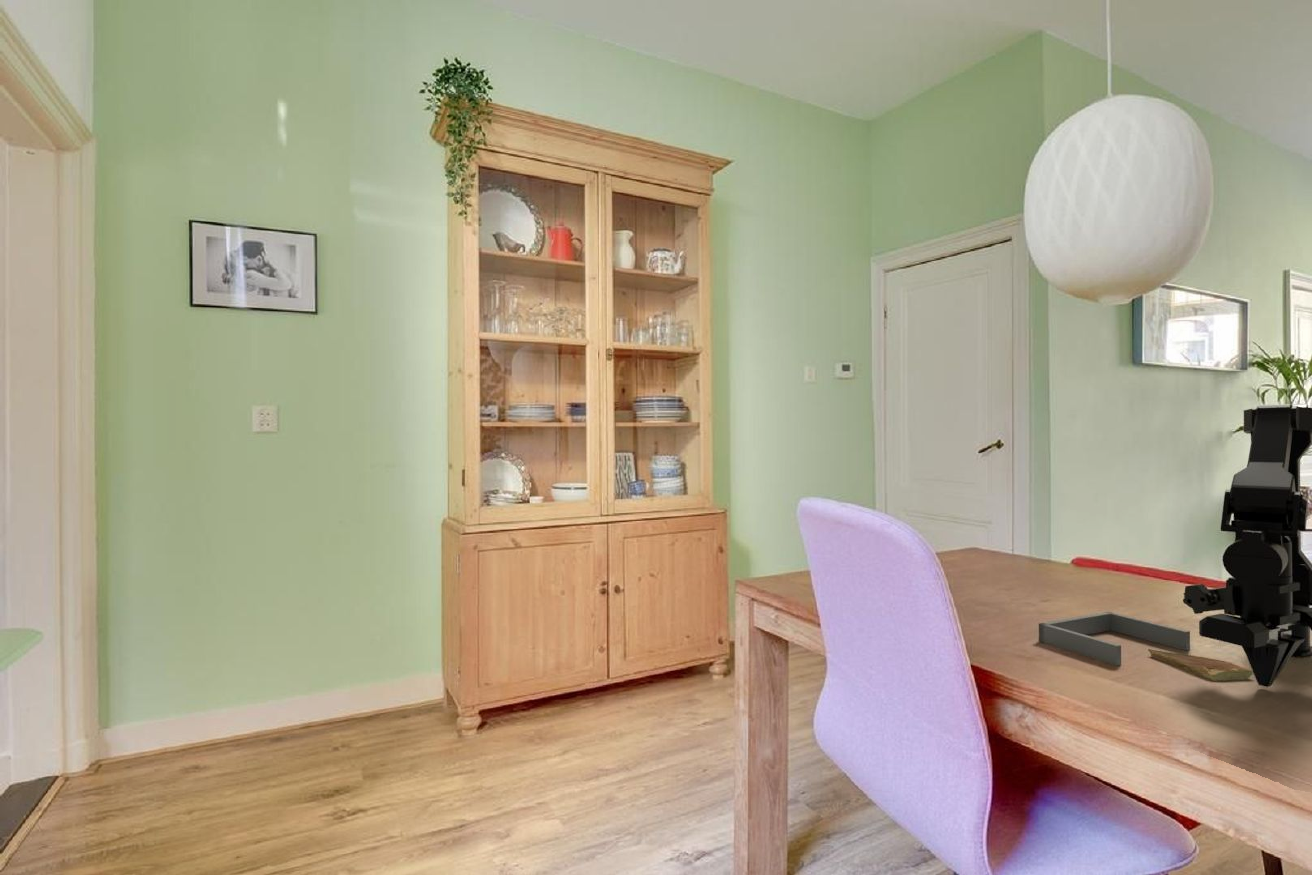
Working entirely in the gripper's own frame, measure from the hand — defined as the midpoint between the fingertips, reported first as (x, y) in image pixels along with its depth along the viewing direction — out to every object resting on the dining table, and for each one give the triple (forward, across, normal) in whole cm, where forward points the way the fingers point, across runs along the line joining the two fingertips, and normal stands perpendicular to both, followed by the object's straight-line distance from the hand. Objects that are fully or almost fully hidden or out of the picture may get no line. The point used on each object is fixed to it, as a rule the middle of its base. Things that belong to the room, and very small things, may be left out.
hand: (1264, 685), depth 89 cm
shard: (+1, 0, -8) cm, 8 cm away
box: (0, 0, -20) cm, 20 cm away
